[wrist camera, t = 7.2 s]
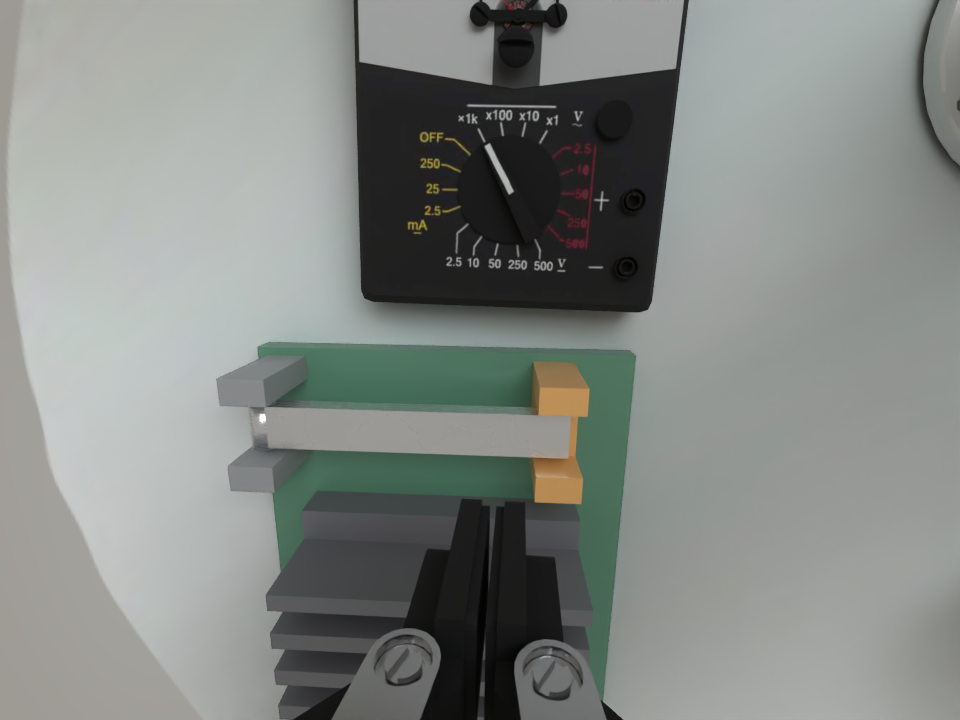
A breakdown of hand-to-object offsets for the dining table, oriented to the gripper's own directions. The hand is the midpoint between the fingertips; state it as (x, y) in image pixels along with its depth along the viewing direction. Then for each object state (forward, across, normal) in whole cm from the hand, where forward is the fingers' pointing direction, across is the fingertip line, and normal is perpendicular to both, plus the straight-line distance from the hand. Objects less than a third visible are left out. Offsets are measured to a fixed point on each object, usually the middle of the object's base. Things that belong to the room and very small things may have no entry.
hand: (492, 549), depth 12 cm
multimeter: (+14, 0, -14) cm, 20 cm away
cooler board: (+13, +3, +12) cm, 18 cm away
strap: (+10, +4, +1) cm, 11 cm away
